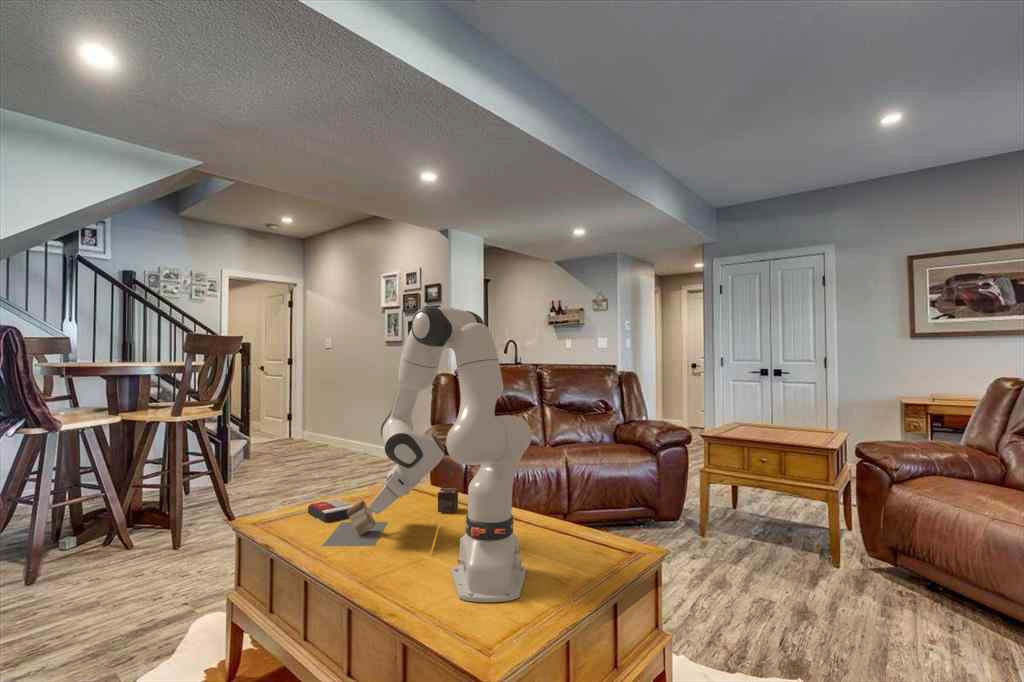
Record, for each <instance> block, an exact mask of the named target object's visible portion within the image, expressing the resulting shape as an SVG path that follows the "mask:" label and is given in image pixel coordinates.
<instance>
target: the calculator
mask: <svg viewBox="0 0 1024 682" xmlns="http://www.w3.org/2000/svg"><path fill="white" fill-rule="evenodd" d="M352 506H354V504H351V503H349V502H346V501H344V500H341V499H339V498H336V499H335V498H334V499H330V500H325V501H319V502H315V503H310V504H309V505H307V514H308V513H309V514H310V515H309V514H308V515H309V516H311V515H312V516H313V518H314V517H315V518H314V519H318V520H320V521H322V522H323V523H325V524H327V523H331V522H332V523H333V522H336V521H340V520H346V519H350V518H349V516H348V515H347V513H346V512H347V511H348V510H349V509H350V508H351V507H352ZM312 516H311V517H312Z"/></svg>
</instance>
